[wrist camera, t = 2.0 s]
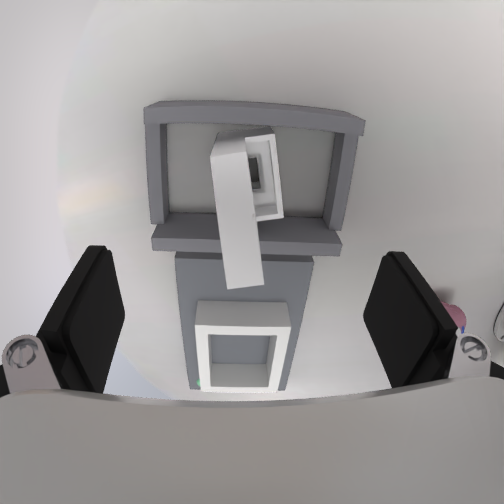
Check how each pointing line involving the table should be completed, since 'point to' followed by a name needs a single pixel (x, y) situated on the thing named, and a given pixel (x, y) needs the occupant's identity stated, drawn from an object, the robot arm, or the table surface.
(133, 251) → the table surface
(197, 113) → the gray rectangular frame
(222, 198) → the white angled block
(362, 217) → the table surface
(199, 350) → the port block
